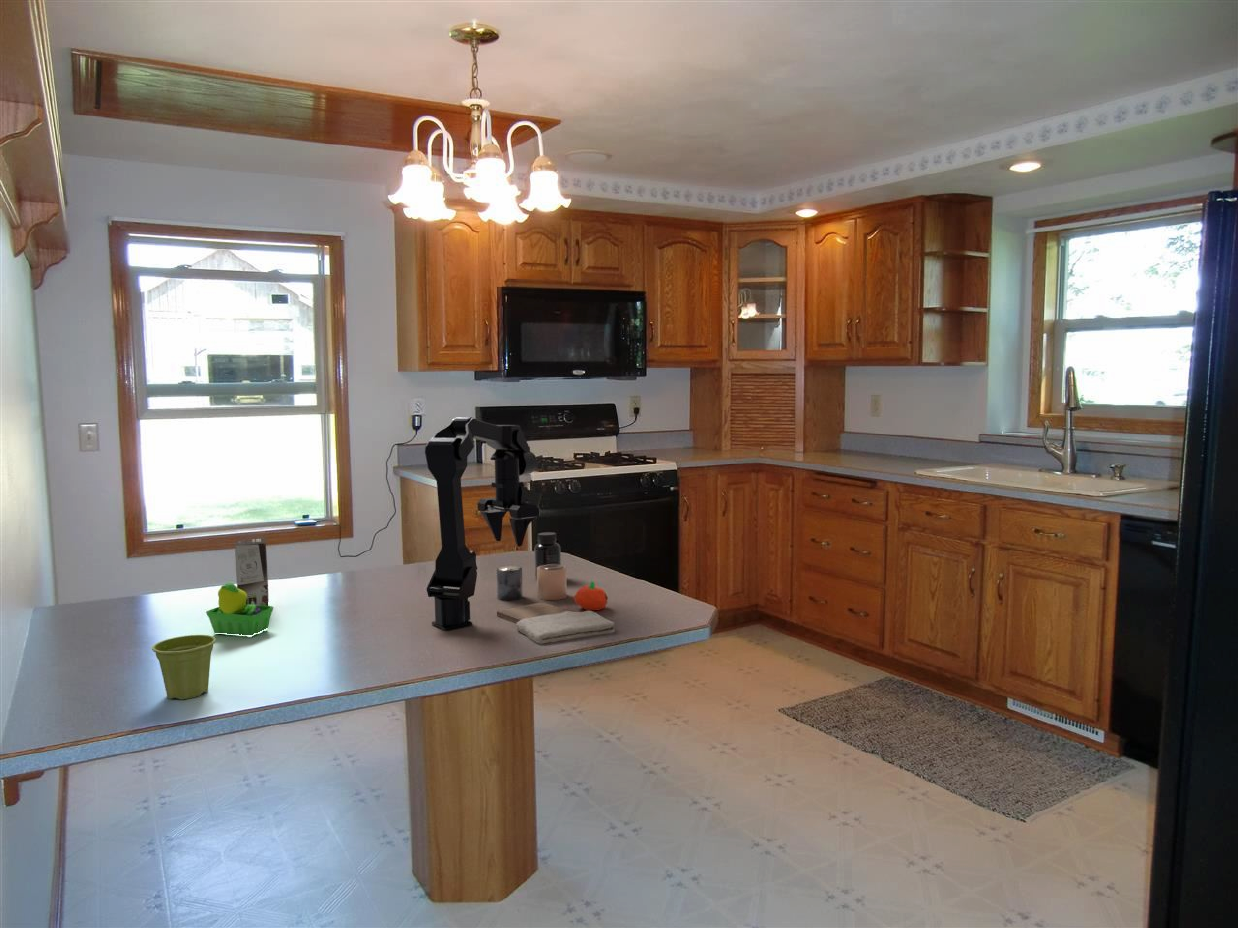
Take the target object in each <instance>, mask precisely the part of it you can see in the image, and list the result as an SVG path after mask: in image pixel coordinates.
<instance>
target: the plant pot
mask: <svg viewBox="0 0 1238 928" xmlns="http://www.w3.org/2000/svg"><path fill="white" fill-rule="evenodd" d="M215 643H216V637H215V636H213V635H209V634H191V635H189V634H188V635H181V636H175V637H172V638H166V639H165V640H161V641H160V642H157V643H155V644H153V645H152V647H151V650H152V652H154V653H155V657H156V659H157V660H158V663H159V666H160V670H161V675H162V678H163V685H164V688H165V693H166V697H167V698H168V699H175V698H176V699H178V700H187V699H193V698H196V697H199V696H201V695H202V694H203V693H207V692H208V691H209V684H210V683H209V682H210V670H211V669H210V668H211V667H210V666H211V659H212V657H211V656H212V651H213V650H214V644H215Z"/></svg>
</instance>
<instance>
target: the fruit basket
mask: <svg viewBox="0 0 1238 928" xmlns="http://www.w3.org/2000/svg"><path fill="white" fill-rule="evenodd" d="M217 595H218V606H217V607H215V608H211V609H208V610H206V611H205V613H206V615H207V617H208V620H209V623H210V624H211V627H212V630H213V632H214V634H215V633H227V634H239V635H241V634H242V635H253V634H254V633H258V632H260V631H262V630H264V629H266V628H268V629H269V626H270V625H269V624H270V621H271V617H272V613H273V611H274V608H275V606H272V605H269V606H262V605H255V604H254V603H252V604H251V605H248V604H246V600H247V594H246V593H245V592H244V591H243V590H240V589H238V588H237V585H235V584H234V583H233V582H227V583H225V584H224V585H221V587H220V588H219V590H218V592H217Z"/></svg>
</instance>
